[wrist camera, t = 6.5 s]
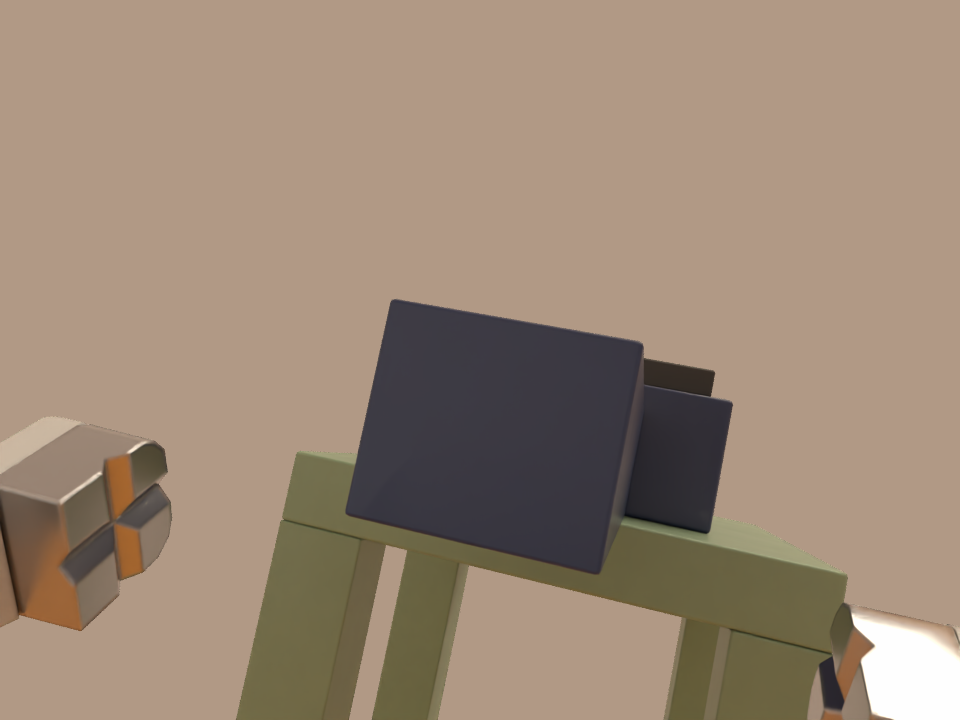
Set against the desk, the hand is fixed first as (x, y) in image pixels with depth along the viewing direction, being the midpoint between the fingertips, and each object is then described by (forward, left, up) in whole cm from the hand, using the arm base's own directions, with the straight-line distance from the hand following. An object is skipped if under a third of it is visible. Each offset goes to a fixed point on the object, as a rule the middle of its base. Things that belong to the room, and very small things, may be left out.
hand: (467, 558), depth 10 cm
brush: (-2, +9, 0) cm, 9 cm away
